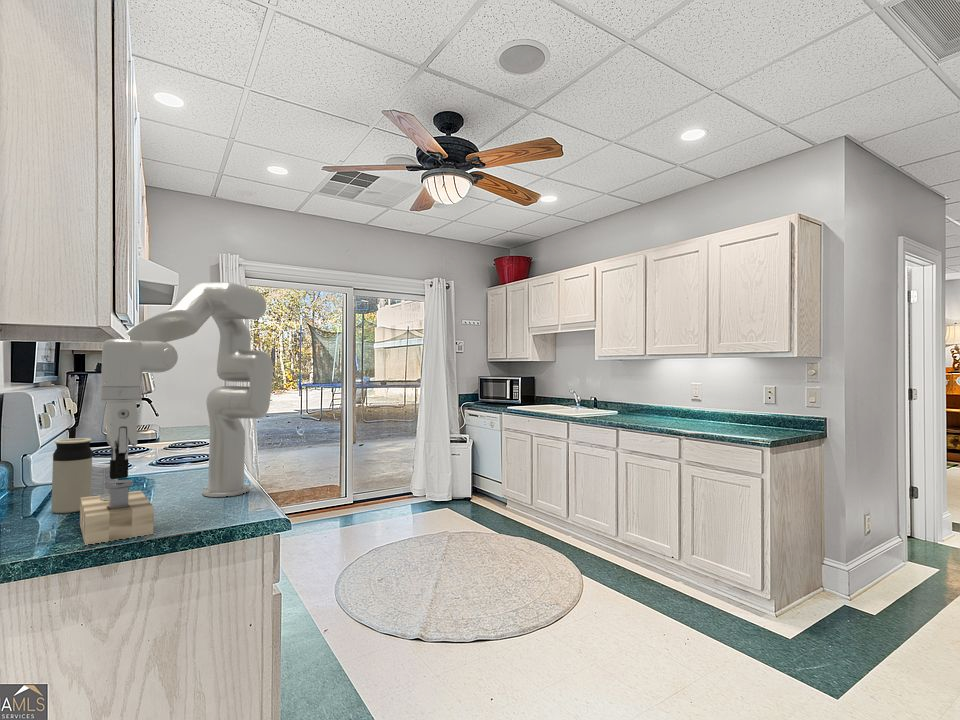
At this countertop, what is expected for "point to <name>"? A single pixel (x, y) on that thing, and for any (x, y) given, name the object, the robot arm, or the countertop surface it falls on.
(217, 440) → the robot arm
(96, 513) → the oak block
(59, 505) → the travel mug
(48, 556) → the countertop surface
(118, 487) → the grey piece
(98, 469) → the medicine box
